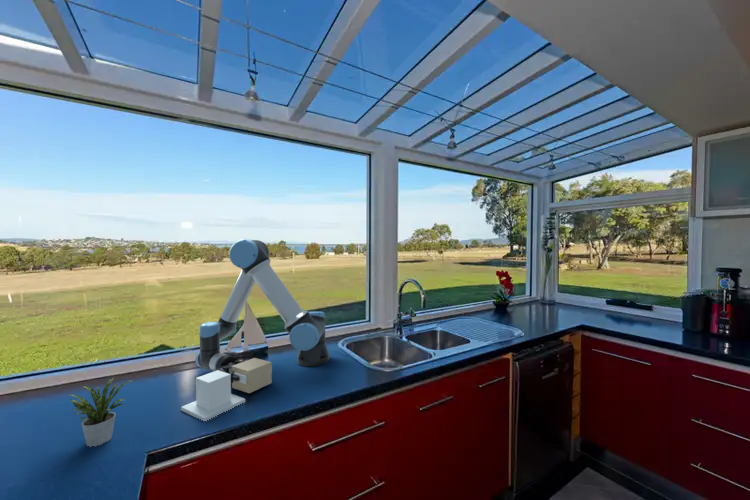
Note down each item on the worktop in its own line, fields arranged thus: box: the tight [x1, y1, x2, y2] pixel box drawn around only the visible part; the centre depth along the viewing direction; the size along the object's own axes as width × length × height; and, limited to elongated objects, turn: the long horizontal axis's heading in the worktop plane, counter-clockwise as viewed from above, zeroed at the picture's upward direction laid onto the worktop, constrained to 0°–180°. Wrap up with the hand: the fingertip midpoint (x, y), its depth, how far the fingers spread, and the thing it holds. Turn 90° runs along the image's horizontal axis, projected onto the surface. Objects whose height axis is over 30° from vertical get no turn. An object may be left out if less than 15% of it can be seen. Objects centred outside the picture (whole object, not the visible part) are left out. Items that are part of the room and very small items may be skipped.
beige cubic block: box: [231, 357, 273, 394], centre depth 117 cm, size 10×10×8 cm
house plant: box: [70, 377, 134, 448], centre depth 87 cm, size 14×14×16 cm
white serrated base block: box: [180, 370, 246, 422], centre depth 104 cm, size 14×14×10 cm
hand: (259, 374), depth 115 cm, fingers open, 10 cm apart
